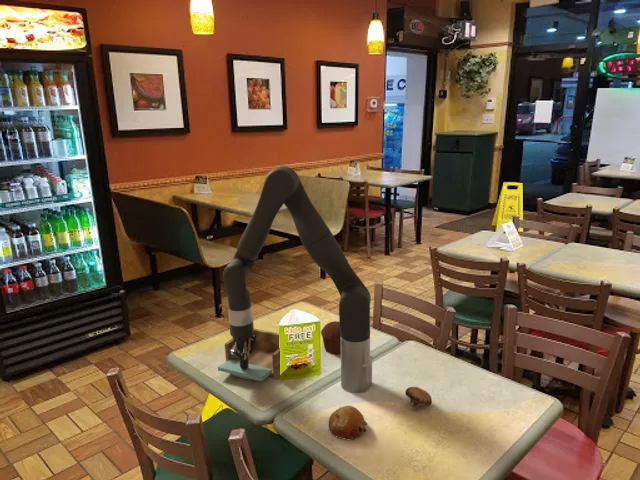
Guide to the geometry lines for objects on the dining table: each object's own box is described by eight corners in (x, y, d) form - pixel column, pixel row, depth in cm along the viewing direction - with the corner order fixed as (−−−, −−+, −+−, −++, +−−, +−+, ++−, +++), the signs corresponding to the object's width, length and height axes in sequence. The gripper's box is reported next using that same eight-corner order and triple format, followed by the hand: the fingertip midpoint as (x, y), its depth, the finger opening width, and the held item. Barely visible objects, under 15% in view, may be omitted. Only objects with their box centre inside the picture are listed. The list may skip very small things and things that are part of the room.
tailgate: (272, 369, 156) (261, 377, 149) (272, 375, 156) (261, 384, 150) (229, 359, 162) (217, 367, 156) (230, 365, 163) (217, 373, 157)
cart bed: (296, 359, 168) (295, 336, 166) (276, 379, 156) (275, 354, 153) (248, 349, 176) (247, 327, 174) (226, 367, 164) (224, 343, 162)
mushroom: (407, 407, 134) (415, 385, 136) (396, 401, 142) (404, 381, 143) (431, 417, 136) (439, 396, 137) (419, 411, 143) (426, 391, 145)
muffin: (315, 345, 178) (315, 321, 175) (341, 338, 183) (340, 314, 180) (331, 359, 168) (330, 333, 165) (357, 351, 173) (357, 326, 170)
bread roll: (349, 426, 137) (339, 400, 138) (376, 425, 131) (366, 398, 131) (328, 444, 130) (318, 417, 130) (355, 445, 123) (345, 416, 123)
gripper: (238, 330, 144) (242, 380, 149) (261, 313, 155) (264, 360, 160) (218, 326, 147) (223, 375, 152) (242, 310, 159) (246, 356, 163)
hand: (244, 368), depth 156 cm, fingers closed
